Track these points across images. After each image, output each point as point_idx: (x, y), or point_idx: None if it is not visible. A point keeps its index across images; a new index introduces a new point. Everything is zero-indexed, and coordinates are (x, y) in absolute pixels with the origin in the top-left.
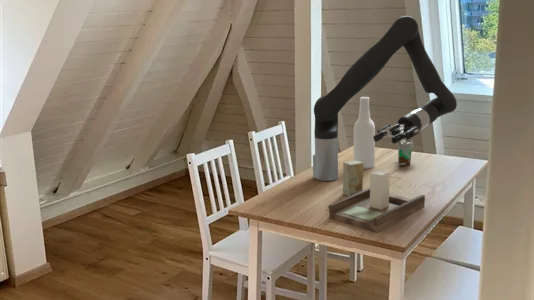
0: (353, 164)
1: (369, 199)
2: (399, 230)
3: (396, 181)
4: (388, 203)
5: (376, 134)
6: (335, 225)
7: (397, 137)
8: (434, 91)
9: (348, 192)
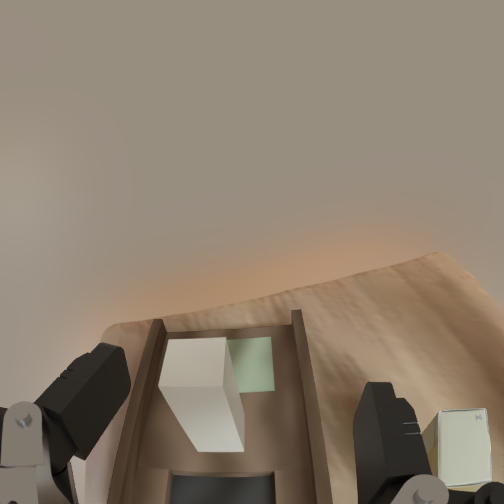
0: (440, 430)
1: (289, 459)
2: None
3: None
4: (195, 446)
5: (394, 412)
6: (258, 319)
7: (68, 366)
8: None
9: None
